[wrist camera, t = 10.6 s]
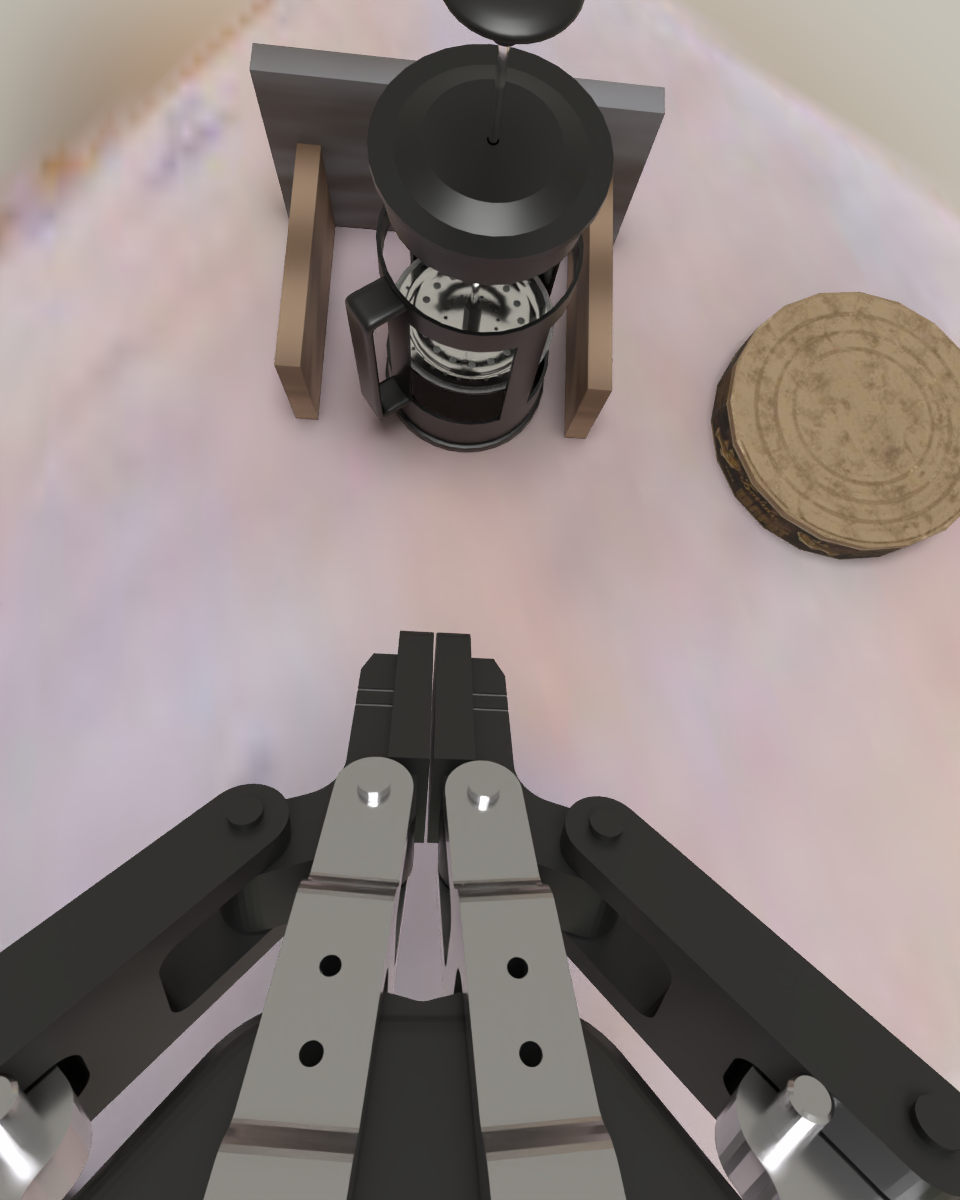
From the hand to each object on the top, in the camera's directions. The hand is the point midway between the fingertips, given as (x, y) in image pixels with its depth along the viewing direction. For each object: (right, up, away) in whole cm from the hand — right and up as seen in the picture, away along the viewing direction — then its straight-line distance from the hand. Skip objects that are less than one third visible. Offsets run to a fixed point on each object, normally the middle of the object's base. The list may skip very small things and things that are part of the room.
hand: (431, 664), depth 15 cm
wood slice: (+23, +11, +28) cm, 38 cm away
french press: (0, +14, +27) cm, 30 cm away
